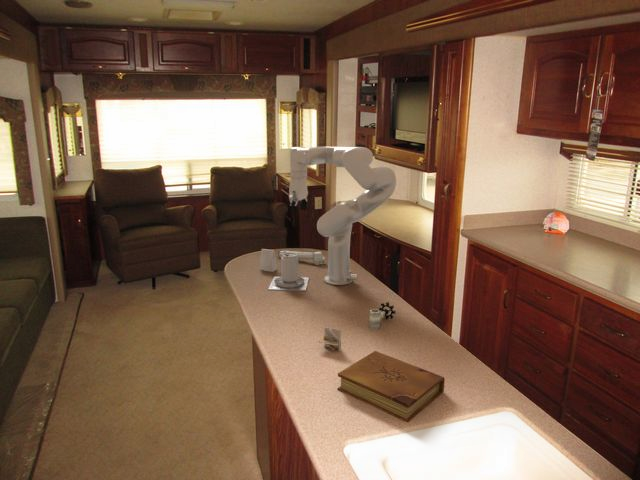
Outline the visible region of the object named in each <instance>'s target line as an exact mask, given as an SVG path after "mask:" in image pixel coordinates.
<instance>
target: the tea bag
mask: <svg viewBox="0 0 640 480" xmlns="http://www.w3.org/2000/svg"><path fill="white" fill-rule="evenodd" d="M259 270H260V271H263V270H264V272H265V271H266V272H271V273H273V272H275V271H276V270H277V255H276V253H275V249H267V248H261V251H260V256H259Z"/></svg>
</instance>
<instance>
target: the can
mask: <svg viewBox="0 0 640 480" xmlns="http://www.w3.org/2000/svg"><path fill="white" fill-rule="evenodd" d="M280 268H281V269H280V273H281V275H280V277H281V279H282V280H283V281H284V282H286V283H293V282H296V281H297V280H298V277H299V259H298V257H297V254H295V253H284V254H283V256H282V257H281V258H280Z"/></svg>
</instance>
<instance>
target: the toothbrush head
mask: <svg viewBox="0 0 640 480" xmlns="http://www.w3.org/2000/svg"><path fill="white" fill-rule="evenodd" d="M284 253H295V254H297V257H298V260H300V259H301V260H304V259H305V260H306V259H308V260H309V259H310V260H312V262H313V264H314V265H316V266H319V265H324V264H325V261H326V257H324V256H323V253H322V251H315V252H311V251H310V252H307V251H292V250H287V249H286V250H279V251H278V253H277V256H278V258H279V259H281V257H282V256H283V254H284Z"/></svg>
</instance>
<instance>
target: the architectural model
mask: <svg viewBox="0 0 640 480" xmlns="http://www.w3.org/2000/svg"><path fill="white" fill-rule="evenodd" d="M341 331H342V330H341V328H340V329H339V328H333V327H327V326H324V335H323V337H321V336H320V338H319V339H318V340H317V343H320V344H323V345H324V348H330V349H331V350H332V351H335V350H338V352H341V350H342V339H341V338H342V337H341V335H342V332H341Z"/></svg>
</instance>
